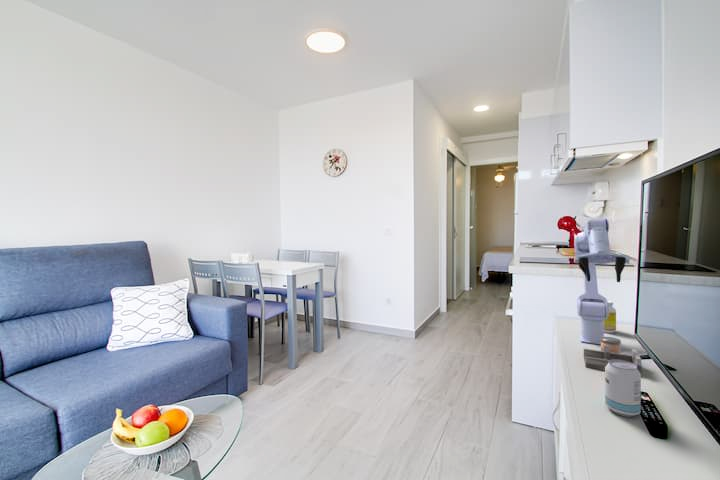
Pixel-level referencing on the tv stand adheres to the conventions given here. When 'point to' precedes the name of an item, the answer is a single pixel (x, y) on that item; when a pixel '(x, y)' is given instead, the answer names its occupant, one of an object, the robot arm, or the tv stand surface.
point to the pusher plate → (606, 353)
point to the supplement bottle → (610, 319)
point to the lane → (598, 362)
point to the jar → (611, 344)
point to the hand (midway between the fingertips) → (603, 280)
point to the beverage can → (623, 388)
